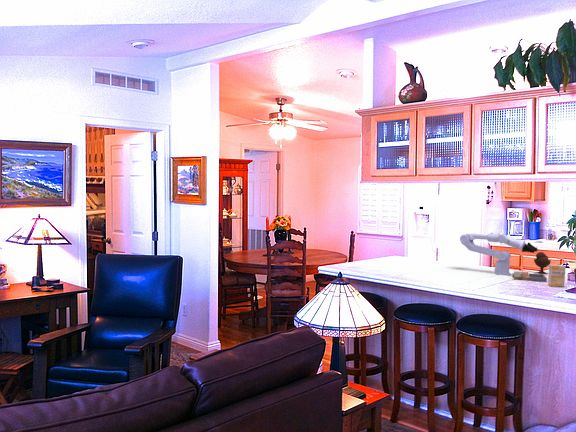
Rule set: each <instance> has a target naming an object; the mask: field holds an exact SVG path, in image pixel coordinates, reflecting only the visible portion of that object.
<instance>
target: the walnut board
mask: <svg viewBox="0 0 576 432" xmlns="http://www.w3.org/2000/svg"><path fill="white" fill-rule="evenodd" d="M529 274H530V273H528V276H515V275H514V272H513V273H512V274H511V277H512V278H514V279H513V280H514V281H526V282H527V281H528V282H529V281H530V282H532V281H531V277H530V276H529Z"/></svg>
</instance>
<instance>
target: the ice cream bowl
mask: <svg viewBox="0 0 576 432" xmlns="http://www.w3.org/2000/svg"><path fill="white" fill-rule="evenodd" d="M535 257H536V258H534V259H533V260H534V261H533V262H534V264H535V265H536V266H537V267H539V268H540V270H539V271H537V274H543V275H546V274H547V272H545V271H544V268H547V267H549V264H550V265H551V259H549V257H548V255H547V254H546V253H545V252H542V251H539V252H537V253H536V254H535Z"/></svg>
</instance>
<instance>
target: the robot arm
mask: <svg viewBox="0 0 576 432" xmlns="http://www.w3.org/2000/svg"><path fill="white" fill-rule="evenodd" d="M475 240H486V241H487V242H490V243H499V244H504V245H507V246H509V247H512V248H515V249H517V250H520V251H521V252H522V253H532V254H535V253H536V252H537V253H538V250H539V249H538V248H537V247H536V246H534V245H533V244H531V242H527V243H526V239H525V240H523V241H522V240H520V239H517V238H514V237H511V236H508V235H507V234H504V233H502V234H500V233H494V232H490V233H488V234H481V233H466V234H462V235H461V236H460V237H459V241H460V243H461V245H463V246H464V247H465V248H466V249H467V250H468V251H470V252H474V253H478V254H482V255H486V256H490V257H493V258H495V259H498V260H495V262H494V275H509V276H510V275H511V274H510V266H511V265H510V264H511V261H510V258H512V257H511V256H512V255H511V252H510V251H508V250H497V249H492V248H489V247H485V246H481V245H477V244H475V242H474V241H475Z"/></svg>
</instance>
